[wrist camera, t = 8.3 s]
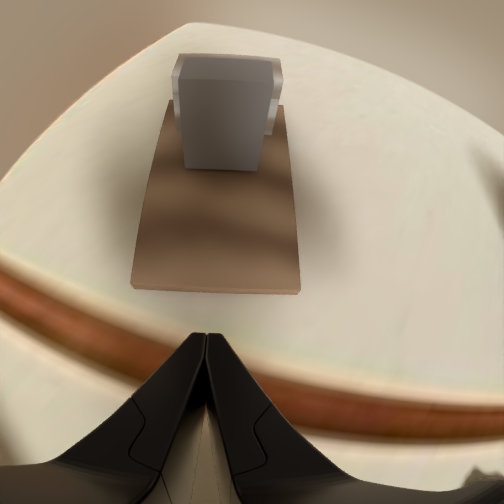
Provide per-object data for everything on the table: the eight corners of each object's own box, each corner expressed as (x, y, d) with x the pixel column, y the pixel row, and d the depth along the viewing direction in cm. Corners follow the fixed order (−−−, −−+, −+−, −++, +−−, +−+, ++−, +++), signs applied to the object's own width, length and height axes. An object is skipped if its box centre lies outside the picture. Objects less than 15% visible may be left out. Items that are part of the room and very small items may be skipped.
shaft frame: (296, 294, 23) (330, 251, 16) (134, 288, 22) (101, 241, 15) (281, 113, 31) (294, 56, 24) (170, 108, 30) (165, 49, 23)
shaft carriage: (256, 171, 25) (274, 83, 17) (184, 168, 25) (177, 79, 17) (254, 85, 31) (265, 15, 23) (200, 82, 30) (202, 12, 22)
